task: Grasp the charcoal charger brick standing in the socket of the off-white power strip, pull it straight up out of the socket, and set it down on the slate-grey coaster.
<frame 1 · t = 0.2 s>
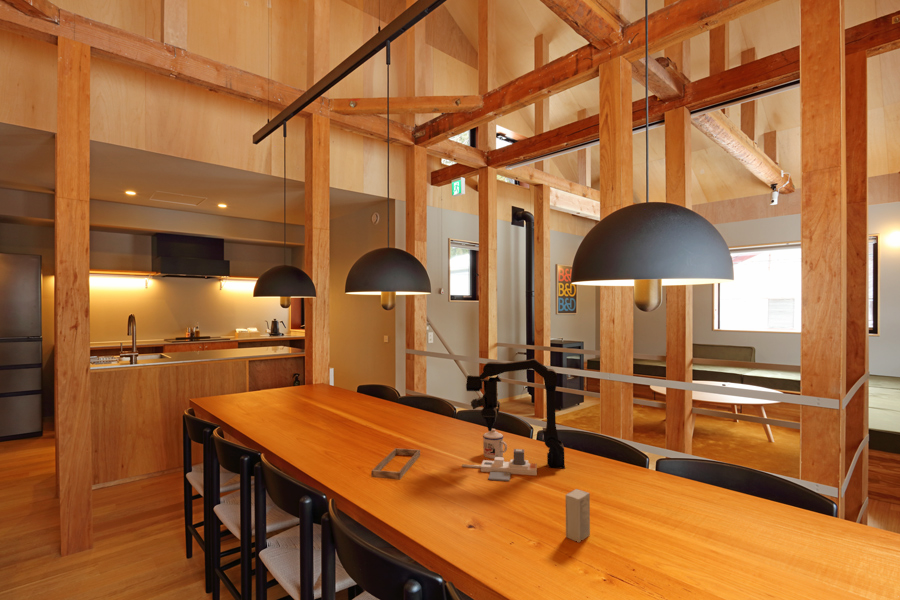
hand: (491, 428, 188), 14 cm above the table, fingers open, 9 cm apart
wooden frame: (397, 465, 183), on the table
power strip: (509, 470, 178), on the table
teacup with lid: (495, 456, 195), on the table
skincare box: (578, 537, 125), on the table
charger: (519, 465, 177), point 2 cm above the table, touching power strip
coaster: (499, 476, 171), on the table
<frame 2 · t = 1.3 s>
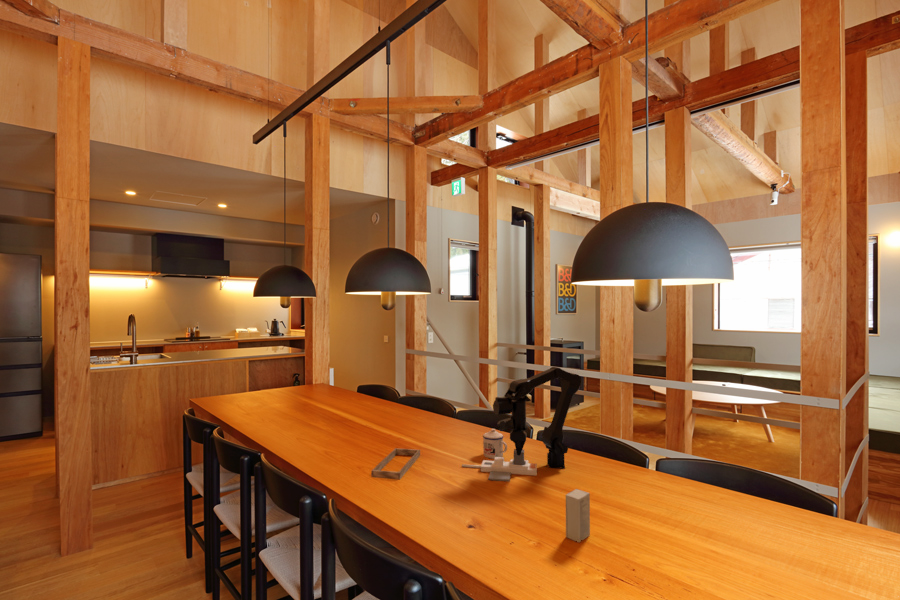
hand: (519, 451, 177), 8 cm above the table, fingers open, 9 cm apart
nothing on the table moved.
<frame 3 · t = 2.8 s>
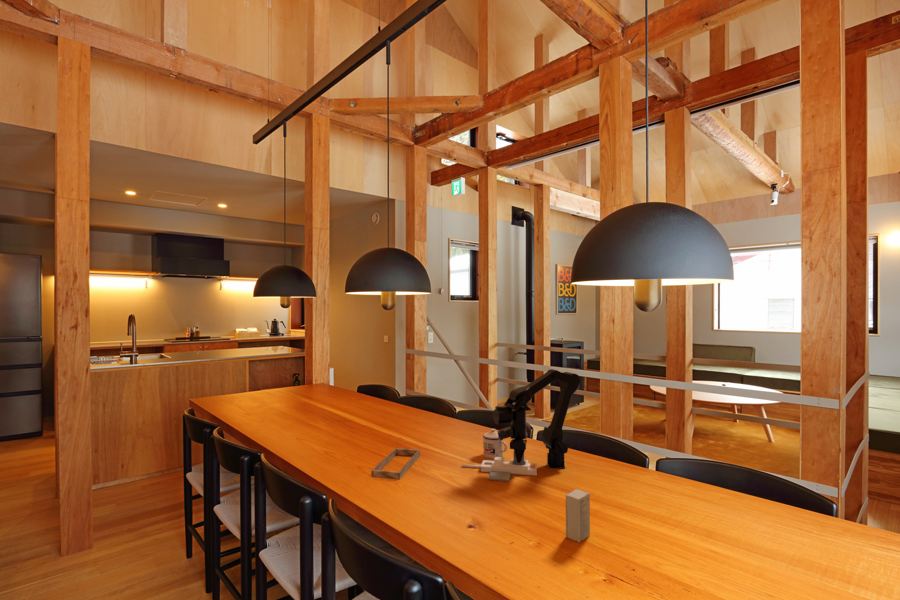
hand: (519, 460, 177), 4 cm above the table, fingers closed on charger, 4 cm apart
charger: (519, 465, 177), point 2 cm above the table, touching gripper, power strip
everything else where it was.
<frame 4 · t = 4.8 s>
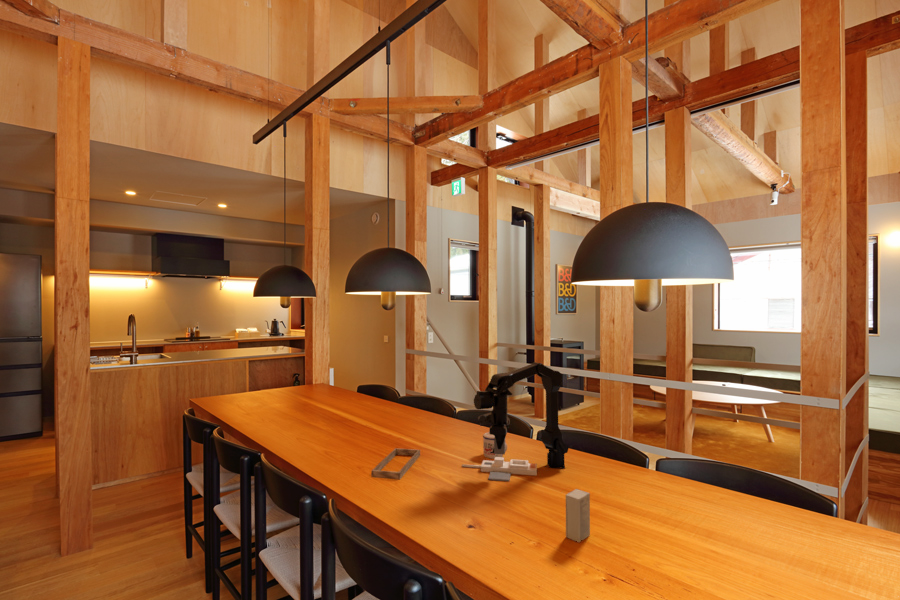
hand: (499, 447, 171), 11 cm above the table, fingers closed on charger, 4 cm apart
charger: (499, 452, 171), point 9 cm above the table, touching gripper
everything else where it was.
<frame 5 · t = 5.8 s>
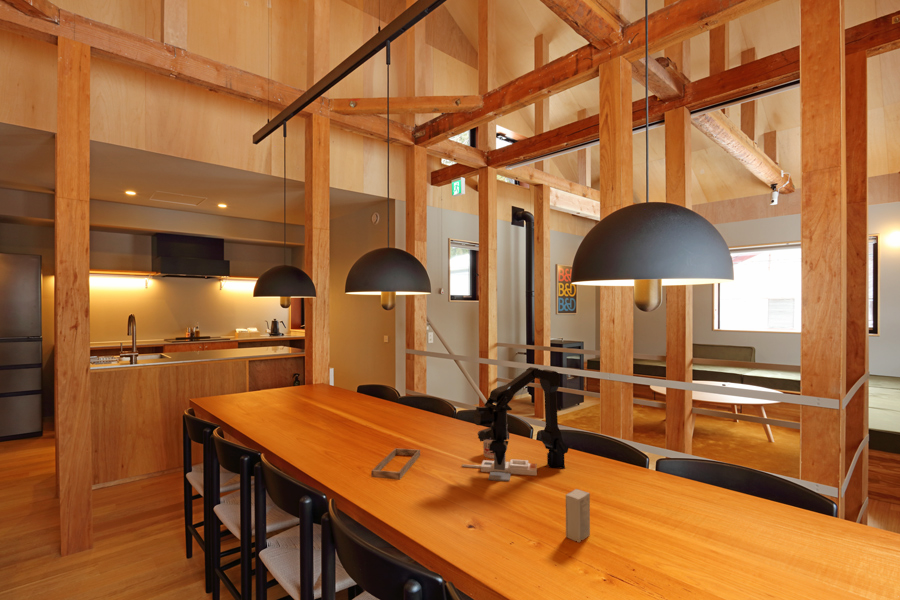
hand: (499, 462, 171), 5 cm above the table, fingers closed on charger, 4 cm apart
charger: (499, 467, 171), point 3 cm above the table, touching gripper
everything else where it was.
when the fingers open (4 cm above the table, at t = 6.8 s): charger drops 2 cm, resting on coaster.
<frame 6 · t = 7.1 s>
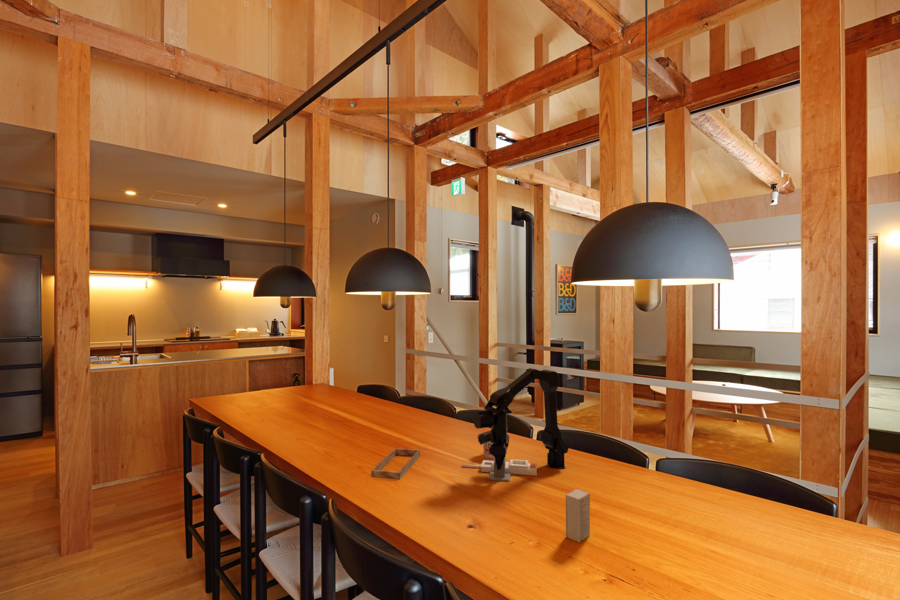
hand: (499, 465, 171), 4 cm above the table, fingers open, 8 cm apart
charger: (499, 475, 171), point 1 cm above the table, touching coaster
everything else where it was.
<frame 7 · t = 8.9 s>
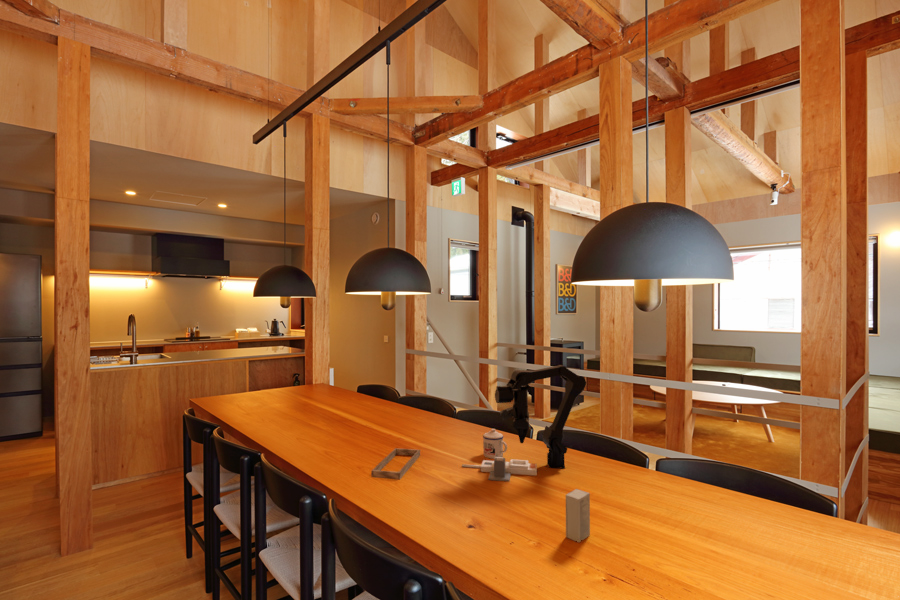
hand: (521, 439, 180), 12 cm above the table, fingers open, 9 cm apart
nothing on the table moved.
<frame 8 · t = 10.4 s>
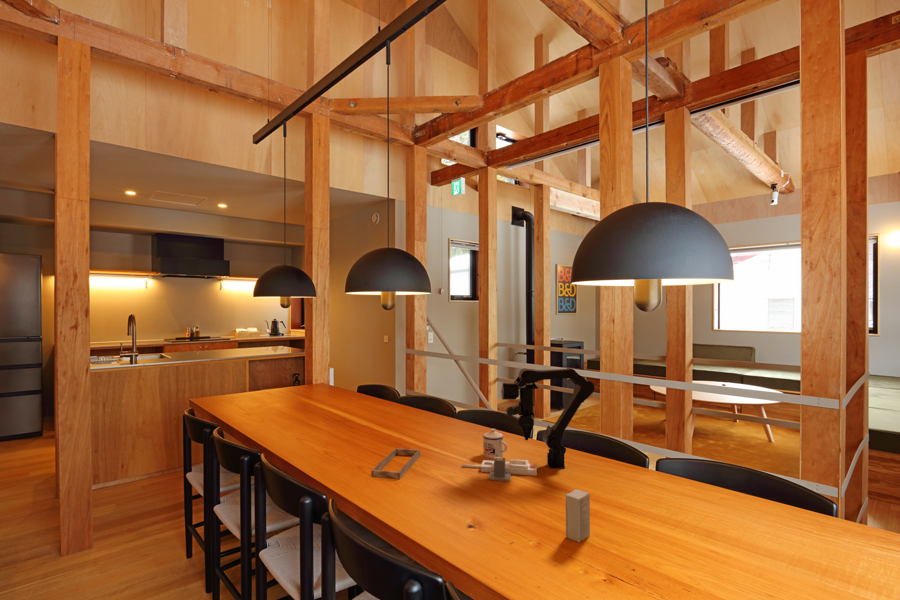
hand: (526, 437, 183), 12 cm above the table, fingers open, 9 cm apart
nothing on the table moved.
at the end: charger inside the target area on the coaster (0.0 cm from its centre), point 0.6 cm above the coaster's base; charger tilted 0°; charger touching coaster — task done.
